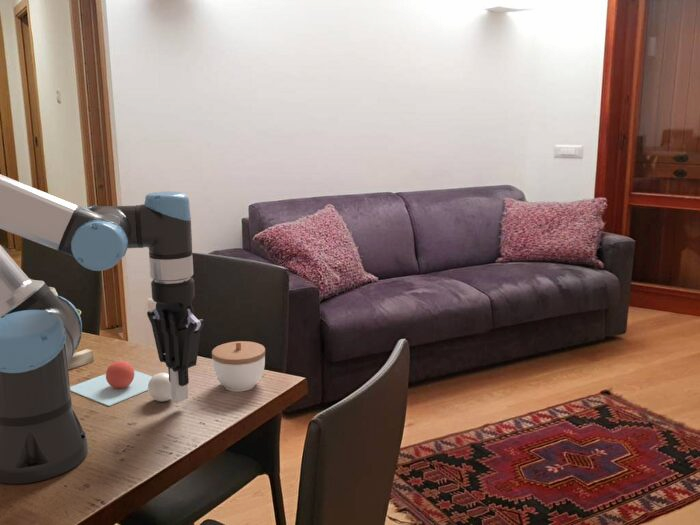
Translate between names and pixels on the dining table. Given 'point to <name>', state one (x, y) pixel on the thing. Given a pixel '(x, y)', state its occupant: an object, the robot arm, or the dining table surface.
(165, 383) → the cue ball
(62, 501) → the dining table surface
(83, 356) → the stopper strip
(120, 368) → the red ball
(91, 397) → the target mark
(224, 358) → the lidded jar
